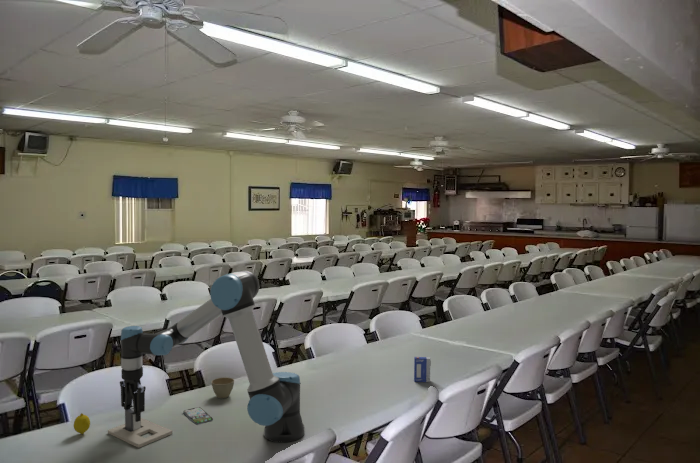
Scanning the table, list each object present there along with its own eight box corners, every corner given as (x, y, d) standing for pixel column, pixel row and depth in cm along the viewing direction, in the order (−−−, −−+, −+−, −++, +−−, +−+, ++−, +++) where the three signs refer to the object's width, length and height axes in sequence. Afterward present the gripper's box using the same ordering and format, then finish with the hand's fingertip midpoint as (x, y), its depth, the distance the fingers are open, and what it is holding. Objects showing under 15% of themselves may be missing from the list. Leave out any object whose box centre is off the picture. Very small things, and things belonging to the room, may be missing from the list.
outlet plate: (172, 433, 197) (172, 430, 197) (138, 447, 185) (138, 444, 185) (141, 420, 208) (141, 417, 208) (107, 433, 197) (107, 430, 197)
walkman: (414, 381, 257) (414, 357, 256) (414, 379, 259) (414, 356, 259) (430, 382, 256) (430, 358, 255) (429, 380, 259) (430, 356, 258)
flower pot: (238, 396, 235) (238, 380, 235) (219, 402, 228) (219, 386, 227) (226, 390, 242) (226, 375, 242) (207, 396, 235) (207, 380, 234)
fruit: (73, 438, 192) (72, 417, 192) (74, 432, 197) (74, 411, 197) (89, 435, 194) (89, 414, 194) (90, 429, 199) (90, 409, 199)
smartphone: (196, 424, 205) (182, 410, 217) (196, 426, 205) (182, 413, 217) (214, 419, 209) (199, 406, 221) (214, 422, 209) (199, 409, 221)
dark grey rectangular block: (140, 430, 200) (140, 409, 199) (131, 433, 196) (130, 412, 196) (134, 427, 202) (134, 406, 202) (125, 431, 199) (124, 410, 198)
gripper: (154, 369, 196) (155, 429, 197) (128, 360, 206) (129, 418, 207) (136, 374, 190) (137, 437, 191) (110, 365, 200) (111, 425, 201)
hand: (133, 427), depth 199 cm, fingers open, 4 cm apart
